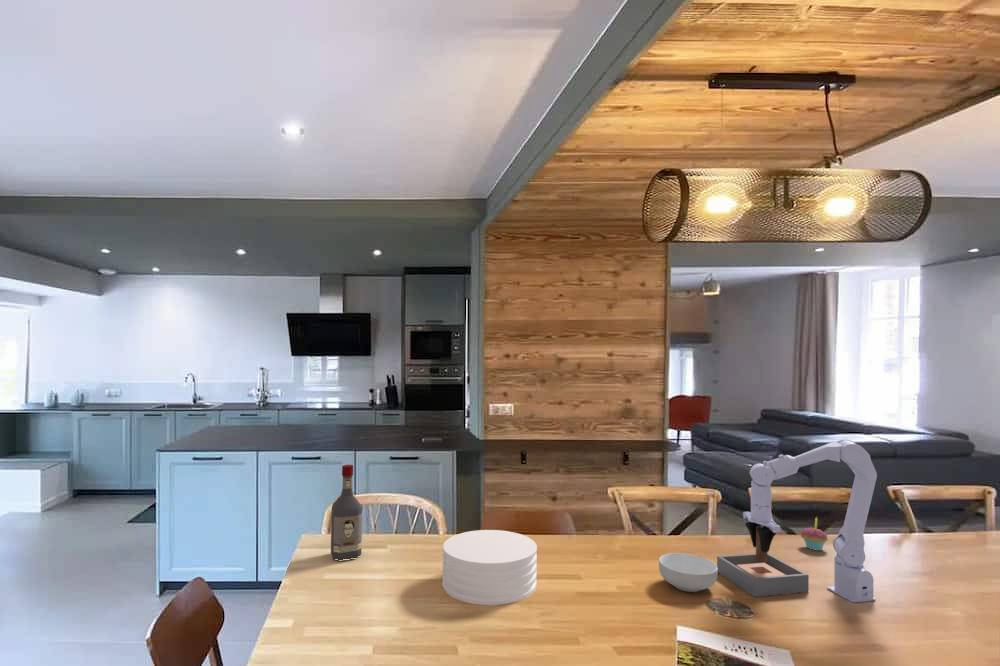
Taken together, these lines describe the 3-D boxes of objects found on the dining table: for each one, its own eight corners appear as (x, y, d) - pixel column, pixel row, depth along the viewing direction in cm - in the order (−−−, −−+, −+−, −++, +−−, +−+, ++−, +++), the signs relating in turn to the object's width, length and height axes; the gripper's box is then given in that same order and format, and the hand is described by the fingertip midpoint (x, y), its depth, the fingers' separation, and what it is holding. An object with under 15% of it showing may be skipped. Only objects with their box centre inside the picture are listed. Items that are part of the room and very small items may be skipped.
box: (808, 592, 163) (808, 574, 163) (754, 597, 159) (754, 579, 159) (766, 568, 180) (766, 552, 181) (717, 571, 177) (717, 556, 177)
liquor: (329, 553, 188) (331, 464, 189) (357, 549, 192) (358, 462, 193) (333, 562, 180) (335, 469, 181) (362, 558, 184) (364, 467, 185)
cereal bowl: (722, 602, 156) (722, 576, 156) (661, 596, 159) (661, 571, 159) (712, 577, 173) (712, 554, 173) (656, 572, 176) (656, 550, 176)
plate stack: (423, 591, 160) (424, 551, 161) (472, 559, 185) (473, 524, 185) (510, 614, 147) (510, 570, 148) (550, 576, 172) (551, 539, 172)
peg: (769, 561, 169) (770, 528, 169) (761, 563, 168) (762, 529, 168) (761, 558, 172) (761, 525, 172) (753, 559, 171) (753, 526, 171)
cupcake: (832, 553, 195) (832, 518, 195) (808, 552, 195) (808, 518, 195) (819, 544, 203) (819, 511, 204) (795, 543, 204) (795, 510, 204)
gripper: (734, 498, 177) (734, 541, 176) (765, 511, 162) (765, 558, 162) (754, 497, 178) (754, 540, 178) (786, 510, 164) (786, 557, 164)
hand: (760, 549), depth 170 cm, fingers closed on peg, 3 cm apart
